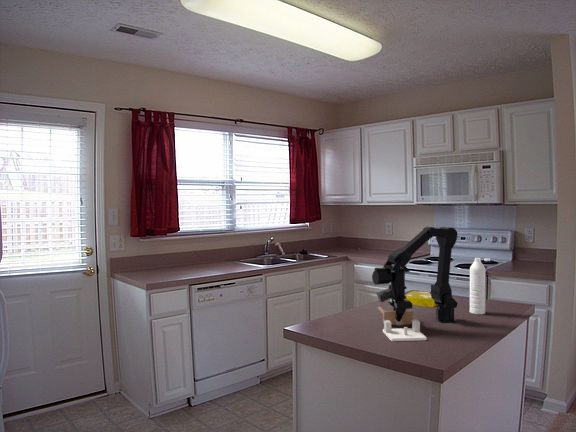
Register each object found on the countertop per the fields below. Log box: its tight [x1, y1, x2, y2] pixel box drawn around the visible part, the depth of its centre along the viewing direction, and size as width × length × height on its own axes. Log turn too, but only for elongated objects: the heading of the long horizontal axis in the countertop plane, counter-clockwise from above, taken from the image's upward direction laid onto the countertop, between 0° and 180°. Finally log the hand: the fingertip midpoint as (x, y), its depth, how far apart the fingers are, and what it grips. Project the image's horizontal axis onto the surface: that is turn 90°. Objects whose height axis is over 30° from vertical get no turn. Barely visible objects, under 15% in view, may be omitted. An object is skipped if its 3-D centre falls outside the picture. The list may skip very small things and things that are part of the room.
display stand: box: [382, 319, 428, 342], centre depth 165 cm, size 12×13×5 cm
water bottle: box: [469, 257, 491, 315], centre depth 195 cm, size 9×6×25 cm
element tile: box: [405, 290, 437, 308], centre depth 218 cm, size 15×15×5 cm
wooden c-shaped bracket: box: [377, 306, 414, 325], centre depth 183 cm, size 10×12×5 cm
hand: (397, 320), depth 179 cm, fingers closed on wooden c-shaped bracket
